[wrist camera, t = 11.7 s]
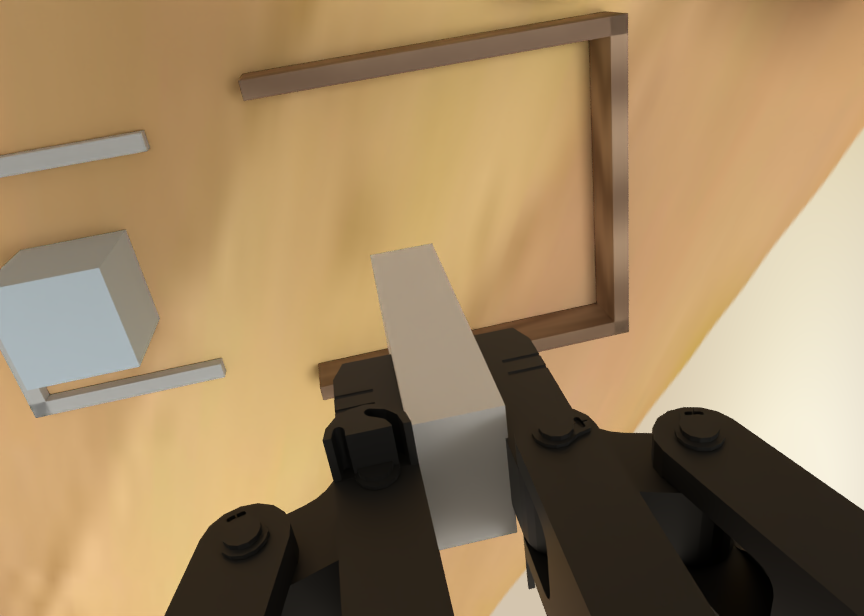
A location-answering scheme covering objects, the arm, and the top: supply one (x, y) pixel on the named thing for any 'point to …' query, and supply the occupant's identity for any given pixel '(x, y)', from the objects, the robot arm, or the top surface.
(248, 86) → the brown flat u-shaped frame
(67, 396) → the corral
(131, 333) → the cube
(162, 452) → the top surface
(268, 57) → the top surface
